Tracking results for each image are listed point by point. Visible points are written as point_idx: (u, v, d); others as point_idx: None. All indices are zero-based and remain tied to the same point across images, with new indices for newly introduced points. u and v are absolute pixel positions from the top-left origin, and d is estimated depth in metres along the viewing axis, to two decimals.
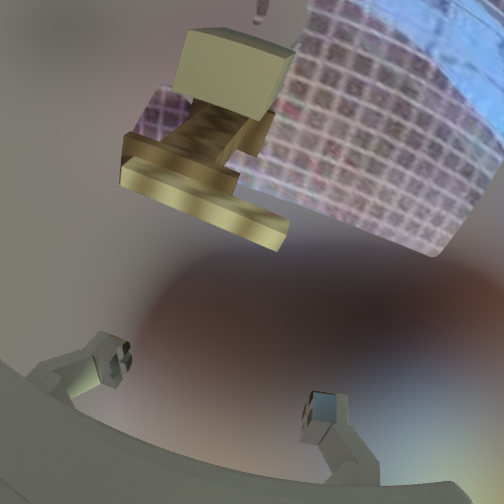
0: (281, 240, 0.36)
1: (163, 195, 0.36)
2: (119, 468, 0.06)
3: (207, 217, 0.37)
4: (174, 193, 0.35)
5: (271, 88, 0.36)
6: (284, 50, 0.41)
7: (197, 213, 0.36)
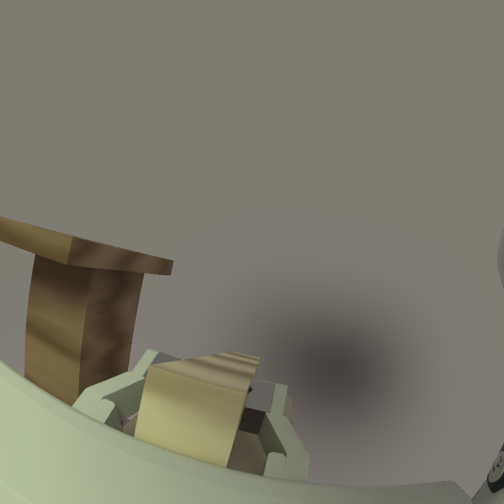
0: (212, 383, 0.08)
1: (236, 356, 0.23)
2: (119, 468, 0.06)
3: (218, 358, 0.17)
4: (247, 360, 0.22)
5: None
6: None
7: (222, 357, 0.19)
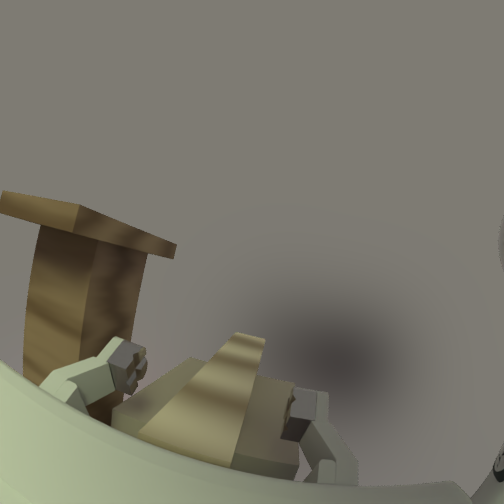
0: (199, 449, 0.08)
1: (238, 347, 0.23)
2: (119, 468, 0.06)
3: (217, 366, 0.17)
4: (250, 354, 0.22)
5: None
6: None
7: (222, 361, 0.18)
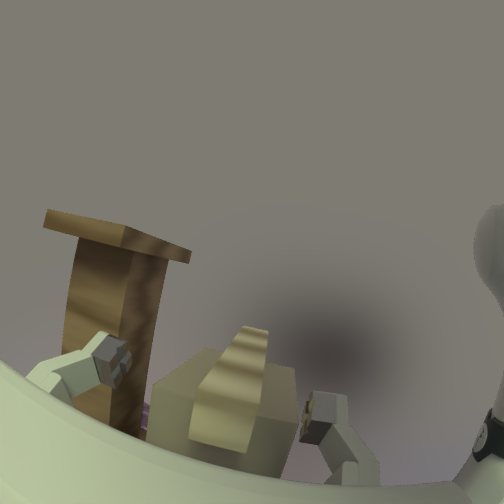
0: (238, 397, 0.13)
1: (248, 337, 0.28)
2: (119, 468, 0.06)
3: (235, 349, 0.22)
4: (258, 342, 0.27)
5: None
6: None
7: (238, 346, 0.24)
